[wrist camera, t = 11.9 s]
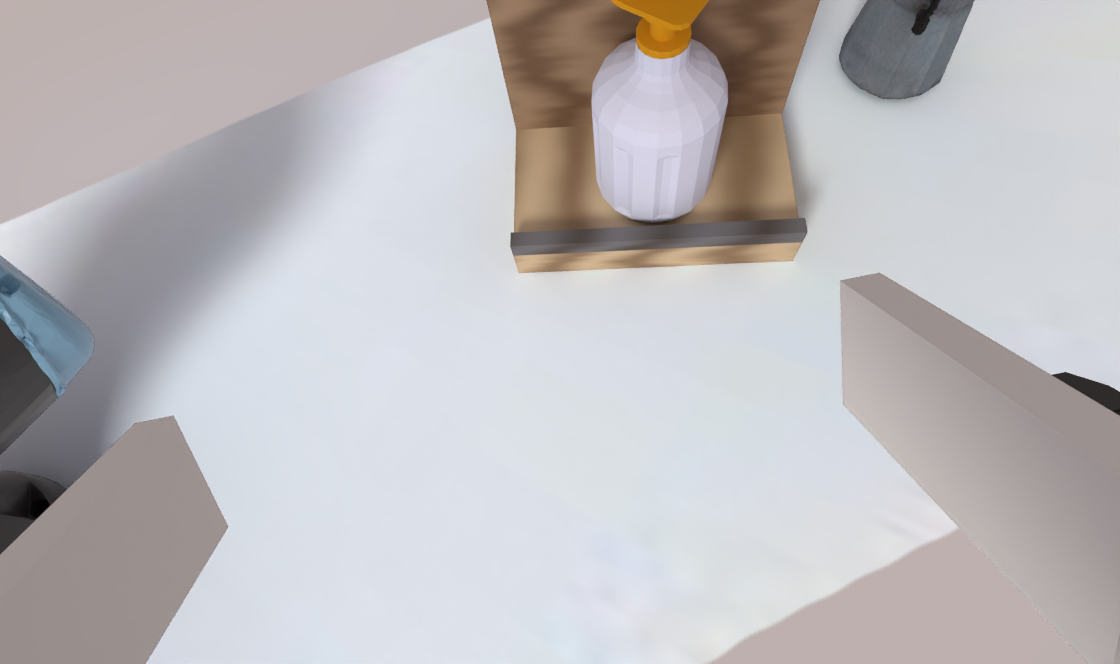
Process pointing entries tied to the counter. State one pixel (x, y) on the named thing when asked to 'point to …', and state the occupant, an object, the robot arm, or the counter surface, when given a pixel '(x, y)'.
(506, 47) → the cleat shelf
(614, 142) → the soap bottle
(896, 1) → the moka pot
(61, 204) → the counter surface
